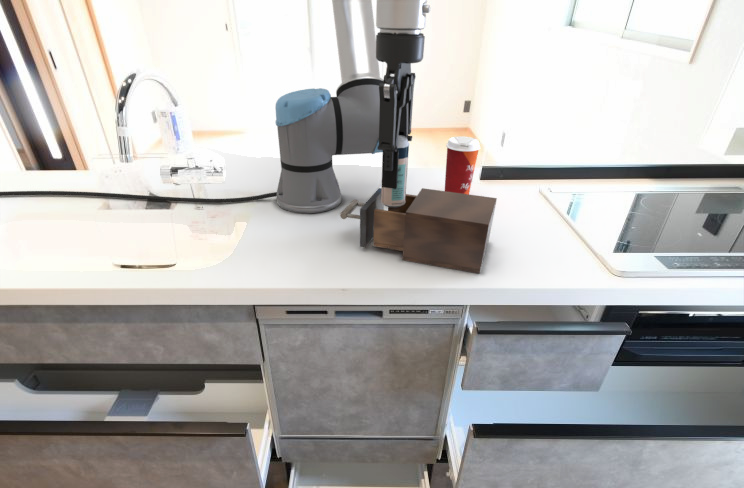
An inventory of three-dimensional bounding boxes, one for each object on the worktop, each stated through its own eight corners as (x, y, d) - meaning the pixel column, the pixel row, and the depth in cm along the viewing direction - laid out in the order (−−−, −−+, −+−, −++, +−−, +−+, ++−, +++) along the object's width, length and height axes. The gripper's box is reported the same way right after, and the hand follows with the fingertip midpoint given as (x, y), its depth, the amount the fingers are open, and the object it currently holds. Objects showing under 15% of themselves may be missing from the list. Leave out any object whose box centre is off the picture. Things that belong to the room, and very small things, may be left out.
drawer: (336, 243, 88) (335, 204, 83) (356, 220, 96) (356, 184, 91) (427, 258, 83) (431, 219, 79) (439, 233, 92) (444, 196, 87)
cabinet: (402, 260, 85) (405, 212, 79) (418, 232, 94) (422, 188, 88) (479, 273, 81) (489, 224, 75) (487, 244, 90) (496, 198, 85)
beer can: (390, 197, 88) (393, 132, 80) (410, 203, 86) (415, 137, 78) (375, 204, 85) (376, 138, 78) (395, 211, 83) (399, 143, 75)
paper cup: (471, 208, 105) (481, 146, 96) (438, 205, 106) (445, 143, 97) (471, 196, 111) (481, 136, 102) (441, 193, 112) (448, 134, 103)
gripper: (409, 37, 61) (400, 202, 75) (436, 28, 74) (424, 170, 88) (357, 34, 63) (358, 196, 77) (393, 26, 76) (388, 165, 90)
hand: (393, 182), depth 83 cm, fingers closed on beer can, 5 cm apart
